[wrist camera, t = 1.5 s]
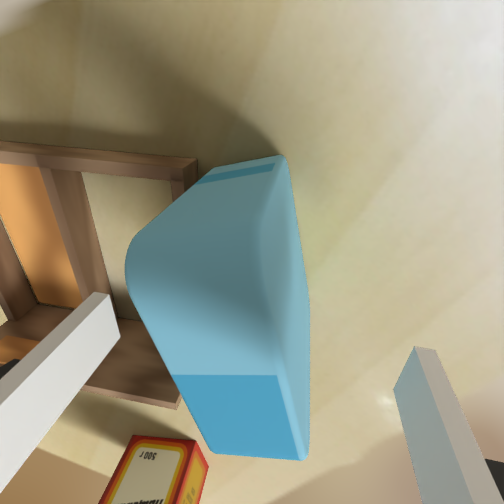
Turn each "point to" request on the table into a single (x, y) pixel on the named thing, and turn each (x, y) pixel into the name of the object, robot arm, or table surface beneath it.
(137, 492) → the baking soda box
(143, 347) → the rack
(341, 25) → the table surface
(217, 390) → the blue rounded block
